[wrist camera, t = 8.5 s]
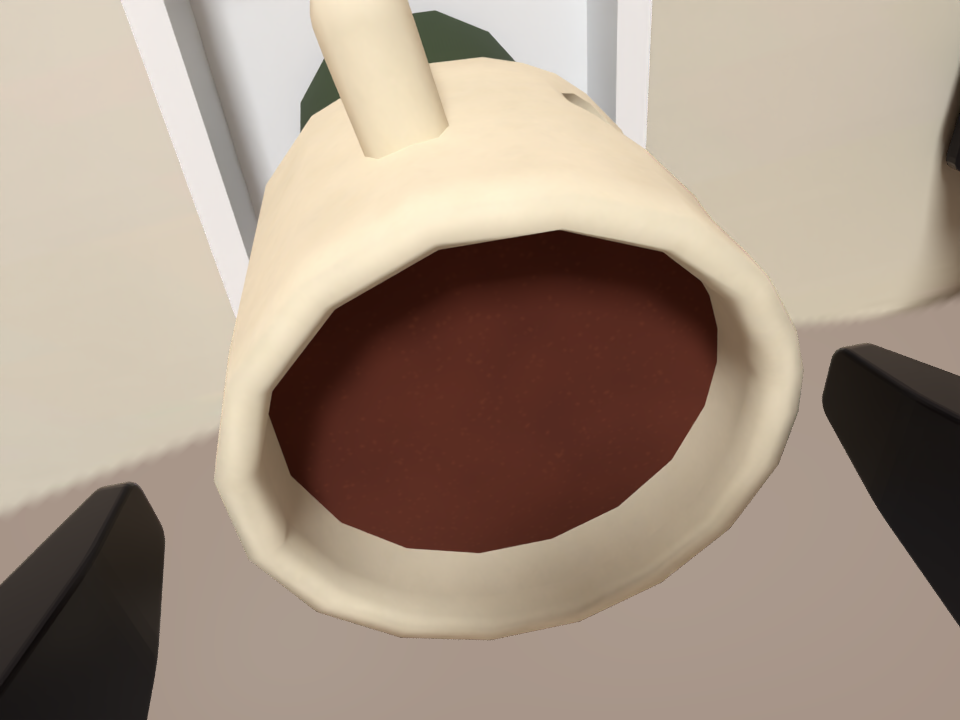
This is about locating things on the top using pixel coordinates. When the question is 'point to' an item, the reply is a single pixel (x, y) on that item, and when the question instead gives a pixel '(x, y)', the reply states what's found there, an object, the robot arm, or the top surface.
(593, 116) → the character mug
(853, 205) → the top surface
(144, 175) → the top surface
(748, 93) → the top surface
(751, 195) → the top surface
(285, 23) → the white open box
